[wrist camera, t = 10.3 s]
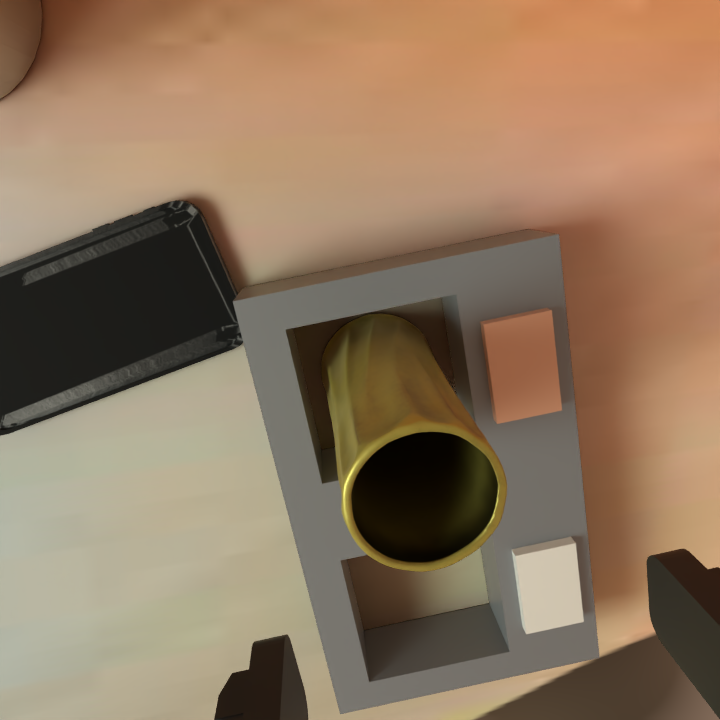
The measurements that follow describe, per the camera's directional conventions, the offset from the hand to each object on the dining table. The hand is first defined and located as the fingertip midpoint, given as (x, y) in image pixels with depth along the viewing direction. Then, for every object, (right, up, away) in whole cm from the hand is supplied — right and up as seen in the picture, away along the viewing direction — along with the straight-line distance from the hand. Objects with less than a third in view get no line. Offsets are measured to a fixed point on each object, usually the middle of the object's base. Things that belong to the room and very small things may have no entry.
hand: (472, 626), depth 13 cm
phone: (-16, +8, +18) cm, 25 cm away
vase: (-2, +5, +19) cm, 20 cm away
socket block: (+1, 0, +21) cm, 21 cm away
